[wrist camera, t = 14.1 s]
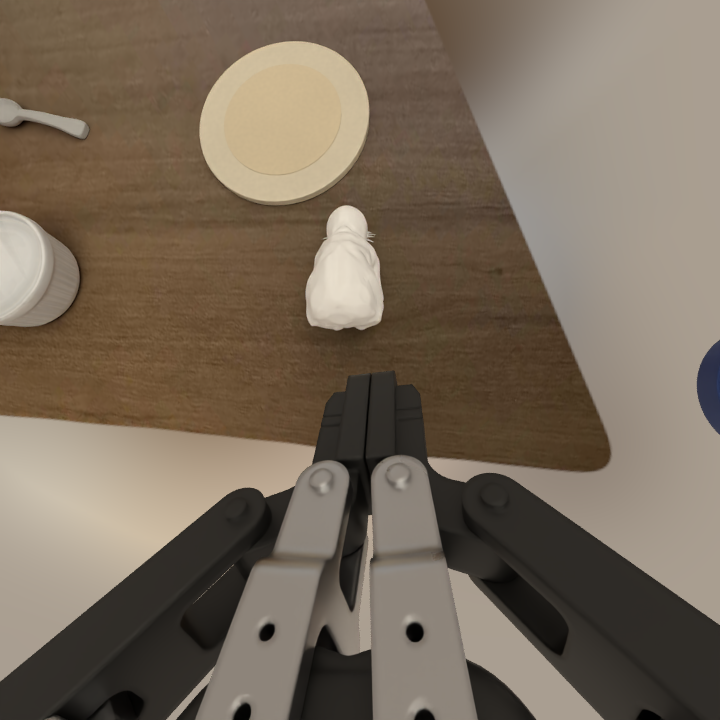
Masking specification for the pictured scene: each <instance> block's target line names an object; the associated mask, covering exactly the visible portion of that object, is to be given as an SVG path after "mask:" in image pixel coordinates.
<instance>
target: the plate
mask: <svg viewBox="0 0 720 720" xmlns="http://www.w3.org/2000/svg"><path fill="white" fill-rule="evenodd" d="M369 123H370V111H369V101H368V96H367V92H366V89H365V86H364V84H363V81H362V80H361V78H360V76H359V74H358V73H357V71H356V70H355V69H354V68H353V66H352V65H351V64H350V63H349V62H348V61H347V60H346V59H345V58H343V57H342V56H341V55H339V54H338V53H336V52H334V51H333V50H331V49H329V48H327V47H324V46H321V45H318V44H314V43H309V42H299V41H291V42H281V43H275V44H271V45H268V46H264V47H262V48H259V49H257V50H254V51H252V52H251V53H249V54H247V55H245V56H244V57H242V58H241V59H239V60H238V61H236V62H235V63H234V64H233V65H232V66H230V67H229V68H228V69H227V70H226V71H225V72H224V73H223V74H222V75H221V77H220V78H219V79H218V80H217V82H216V83H215V85H214V86H213V88H212V89H211V91H210V93H209V95H208V97H207V99H206V102H205V104H204V107H203V111H202V114H201V120H200V142H201V148H202V152H203V155H204V158H205V160H206V162H207V164H208V166H209V168H210V169H211V171H212V172H213V174H214V175H215V176H216V177H217V179H218V180H219V181H220V182H221V183H222V184H223V185H224V186H225V187H226V188H227V189H229V190H230V191H231V192H233V193H234V194H236V195H237V196H239V197H241V198H244V199H246V200H248V201H251V202H255V203H258V204H265V205H288V204H294V203H299V202H303V201H306V200H308V199H311V198H314V197H316V196H318V195H319V194H321V193H323V192H325V191H327V190H328V189H330V188H331V187H332V186H334V185H335V184H336V183H337V182H339V181H340V180H341V179H342V178H343V177H344V176H345V175H346V174H347V173H348V172H349V170H350V169H351V168H352V167H353V165H354V164H355V162H356V161H357V159H358V157H359V156H360V154H361V152H362V150H363V147H364V145H365V142H366V139H367V135H368V131H369Z"/></svg>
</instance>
